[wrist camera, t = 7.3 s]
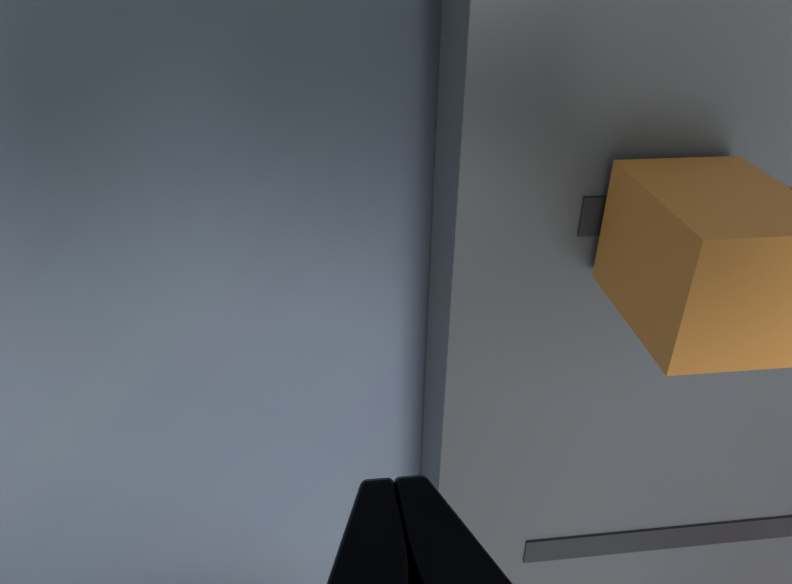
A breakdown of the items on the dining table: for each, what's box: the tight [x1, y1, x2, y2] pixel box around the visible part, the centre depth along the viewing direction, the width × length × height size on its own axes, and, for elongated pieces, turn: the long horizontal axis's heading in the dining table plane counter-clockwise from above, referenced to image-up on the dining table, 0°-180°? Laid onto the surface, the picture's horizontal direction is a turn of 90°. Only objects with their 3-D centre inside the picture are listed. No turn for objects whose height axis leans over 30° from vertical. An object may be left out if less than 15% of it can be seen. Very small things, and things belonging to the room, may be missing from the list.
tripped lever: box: [592, 156, 792, 376], centre depth 15 cm, size 3×3×4 cm
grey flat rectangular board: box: [420, 0, 792, 584], centre depth 22 cm, size 20×24×3 cm
